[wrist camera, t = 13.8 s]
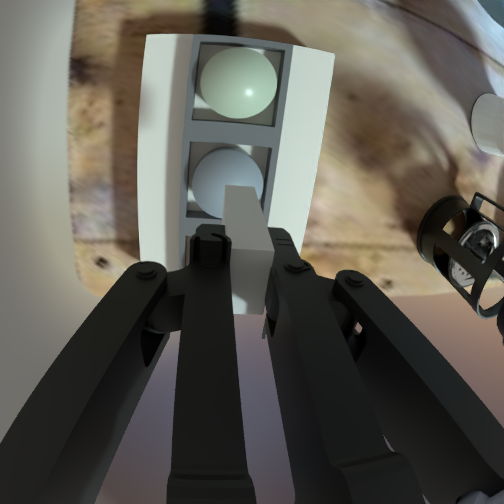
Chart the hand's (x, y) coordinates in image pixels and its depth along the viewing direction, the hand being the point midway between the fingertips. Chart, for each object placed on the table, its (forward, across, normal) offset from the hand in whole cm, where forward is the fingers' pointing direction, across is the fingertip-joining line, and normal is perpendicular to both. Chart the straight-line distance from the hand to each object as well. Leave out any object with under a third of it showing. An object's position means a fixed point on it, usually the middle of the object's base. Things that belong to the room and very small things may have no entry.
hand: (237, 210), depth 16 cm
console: (+12, 0, -1) cm, 12 cm away
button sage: (+8, 0, +7) cm, 10 cm away
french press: (+12, +27, -4) cm, 30 cm away
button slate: (+8, 0, -1) cm, 8 cm away
